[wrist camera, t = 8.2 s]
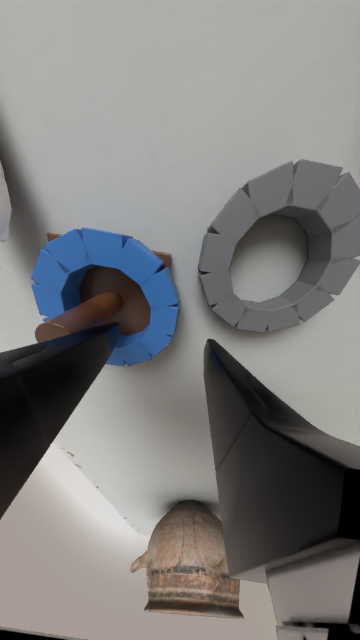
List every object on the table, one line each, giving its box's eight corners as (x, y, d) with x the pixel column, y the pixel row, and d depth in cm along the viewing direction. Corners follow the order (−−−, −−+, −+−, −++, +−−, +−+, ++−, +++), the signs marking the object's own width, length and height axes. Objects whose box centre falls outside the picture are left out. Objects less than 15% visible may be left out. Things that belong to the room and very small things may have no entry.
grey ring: (293, 328, 14) (309, 340, 12) (188, 312, 14) (189, 321, 12) (371, 194, 10) (414, 181, 8) (218, 163, 9) (226, 142, 7)
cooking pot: (146, 514, 41) (131, 610, 30) (136, 488, 33) (112, 607, 22) (235, 519, 40) (253, 620, 29) (248, 493, 32) (281, 620, 21)
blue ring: (170, 358, 15) (167, 373, 13) (67, 342, 15) (51, 355, 13) (188, 247, 10) (189, 246, 9) (41, 220, 10) (10, 214, 8)
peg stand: (160, 345, 16) (142, 410, 9) (75, 332, 15) (-4, 390, 9) (171, 254, 12) (154, 259, 5) (57, 234, 11) (-106, 214, 5)
